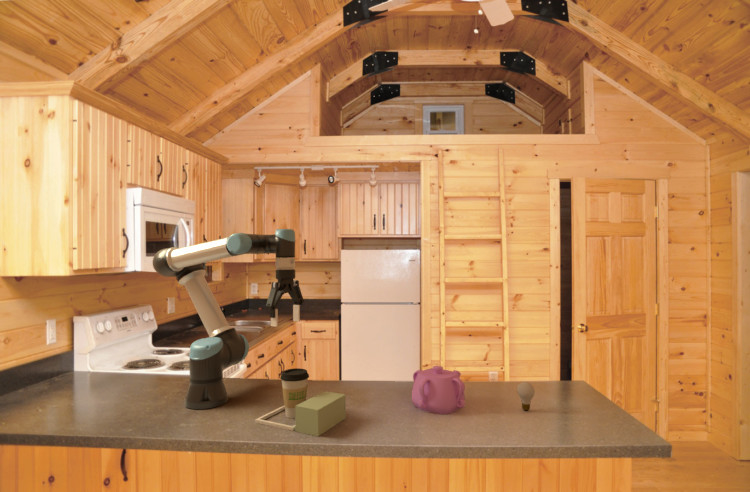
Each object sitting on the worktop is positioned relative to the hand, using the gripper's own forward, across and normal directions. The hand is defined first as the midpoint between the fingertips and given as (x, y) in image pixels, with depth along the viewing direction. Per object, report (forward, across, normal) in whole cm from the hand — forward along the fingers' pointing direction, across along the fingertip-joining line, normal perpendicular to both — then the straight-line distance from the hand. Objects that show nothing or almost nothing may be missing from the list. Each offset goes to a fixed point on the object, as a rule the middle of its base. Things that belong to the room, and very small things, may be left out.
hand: (285, 323), depth 172 cm
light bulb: (+29, +26, -85) cm, 93 cm away
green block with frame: (+29, -16, -19) cm, 38 cm away
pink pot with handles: (+29, +19, -56) cm, 66 cm away
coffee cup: (+29, -13, -14) cm, 35 cm away
